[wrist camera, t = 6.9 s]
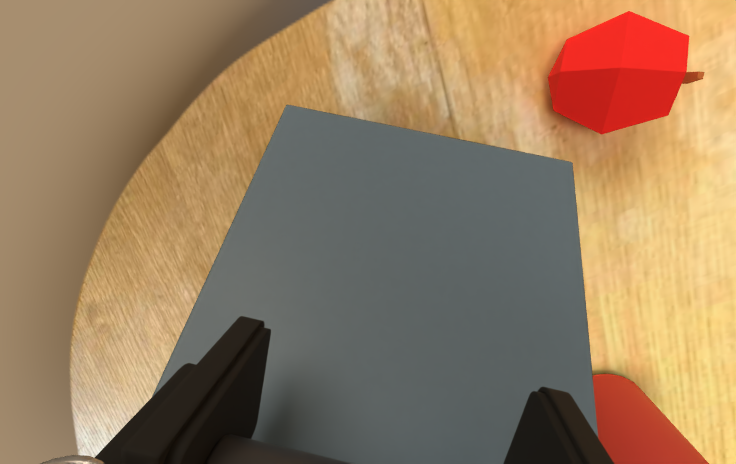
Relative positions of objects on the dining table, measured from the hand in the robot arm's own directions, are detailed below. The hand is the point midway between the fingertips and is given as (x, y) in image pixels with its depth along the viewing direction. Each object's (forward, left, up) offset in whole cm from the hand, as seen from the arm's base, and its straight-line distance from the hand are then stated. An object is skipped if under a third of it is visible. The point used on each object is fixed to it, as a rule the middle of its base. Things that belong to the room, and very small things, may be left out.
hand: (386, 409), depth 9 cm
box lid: (0, 0, -5) cm, 5 cm away
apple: (-9, +14, -22) cm, 28 cm away
